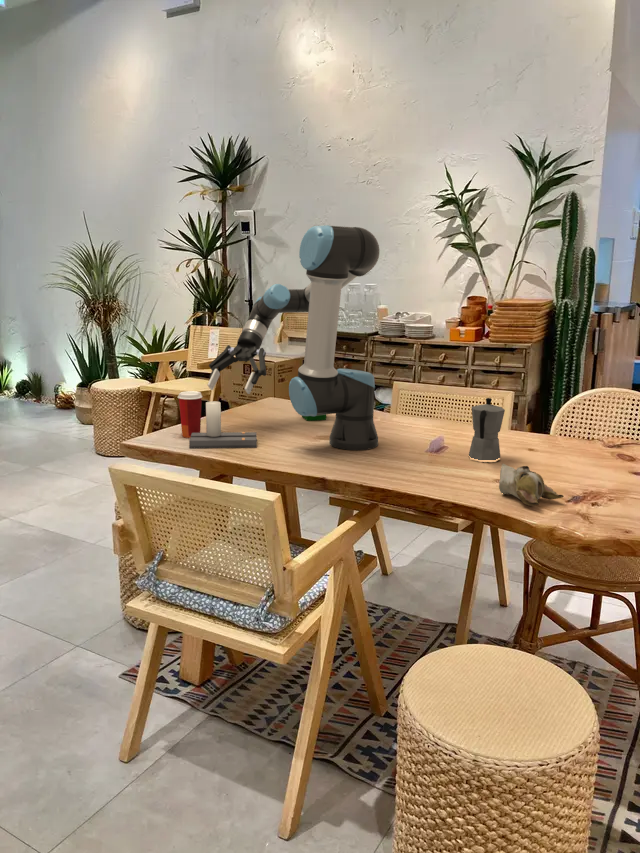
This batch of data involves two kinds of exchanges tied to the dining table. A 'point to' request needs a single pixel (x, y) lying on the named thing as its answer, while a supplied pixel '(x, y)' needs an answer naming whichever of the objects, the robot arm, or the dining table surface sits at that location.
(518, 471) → the ceramic sculpture
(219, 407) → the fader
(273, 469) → the dining table surface
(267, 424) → the dining table surface
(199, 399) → the paper cup
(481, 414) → the coffeepot
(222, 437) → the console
